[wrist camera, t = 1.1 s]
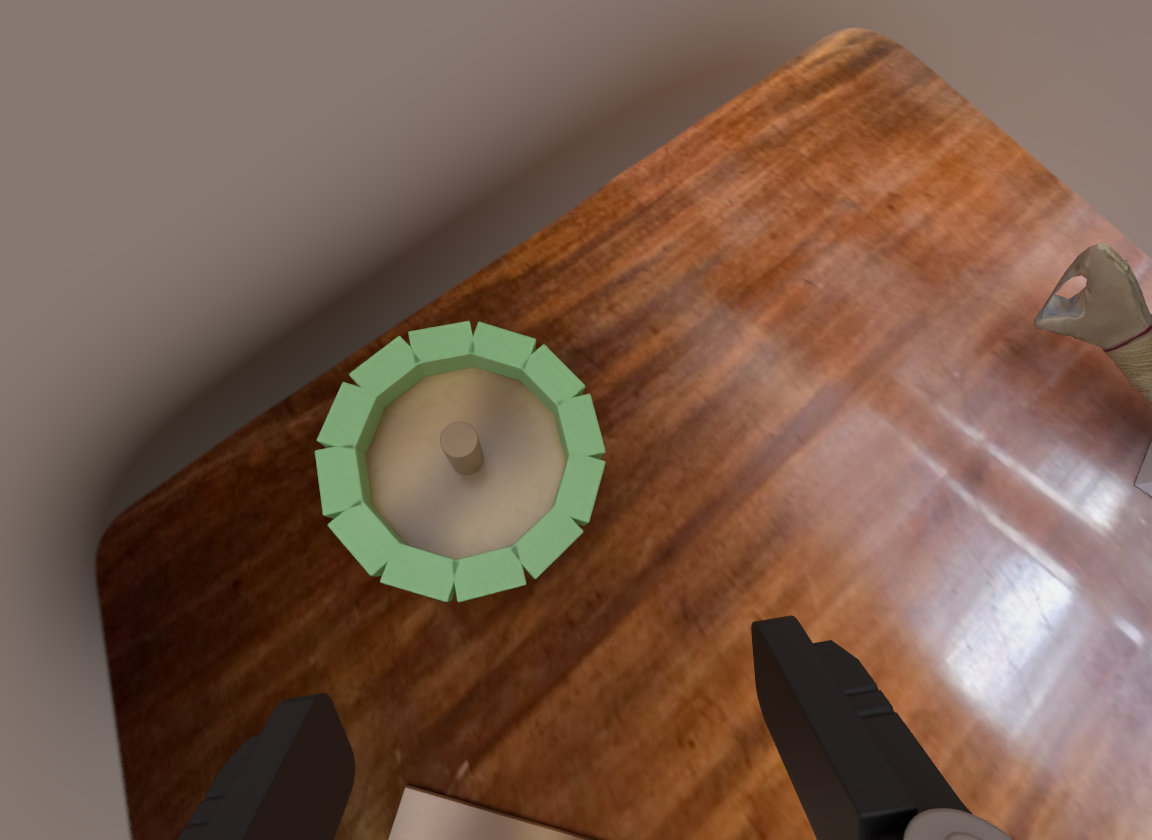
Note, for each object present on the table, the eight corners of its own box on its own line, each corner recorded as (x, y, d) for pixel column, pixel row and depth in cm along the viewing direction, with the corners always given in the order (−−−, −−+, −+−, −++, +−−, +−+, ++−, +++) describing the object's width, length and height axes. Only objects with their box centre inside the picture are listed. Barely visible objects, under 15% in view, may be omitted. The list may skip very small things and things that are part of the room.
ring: (284, 550, 28) (267, 548, 26) (390, 308, 32) (382, 291, 30) (555, 631, 28) (558, 635, 26) (625, 380, 33) (631, 367, 31)
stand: (354, 538, 34) (289, 522, 24) (421, 372, 37) (387, 300, 28) (534, 592, 34) (539, 596, 24) (584, 421, 37) (606, 366, 28)
